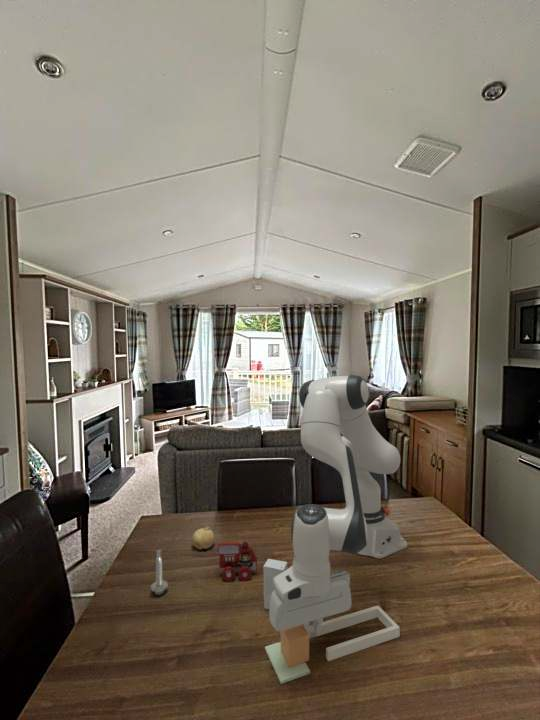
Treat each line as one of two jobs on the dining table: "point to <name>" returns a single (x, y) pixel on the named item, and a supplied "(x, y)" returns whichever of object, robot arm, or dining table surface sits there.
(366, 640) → the chute
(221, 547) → the toy fire truck
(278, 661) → the pad
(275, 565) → the skincare box
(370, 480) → the robot arm
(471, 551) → the dining table surface
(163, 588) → the screw
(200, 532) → the onion
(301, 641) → the block
